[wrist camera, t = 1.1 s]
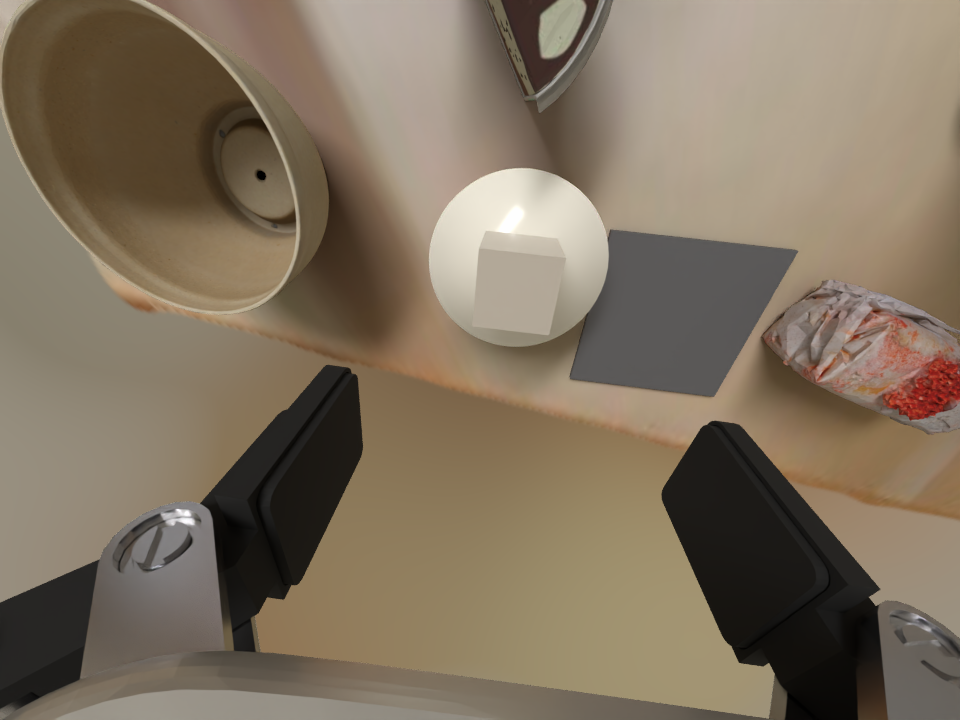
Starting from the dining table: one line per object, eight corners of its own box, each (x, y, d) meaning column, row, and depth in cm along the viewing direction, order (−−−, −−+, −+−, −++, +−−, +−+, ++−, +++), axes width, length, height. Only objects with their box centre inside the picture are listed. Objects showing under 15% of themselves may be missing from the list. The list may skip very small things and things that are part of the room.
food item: (740, 340, 32) (817, 407, 24) (811, 263, 28) (934, 311, 20) (856, 388, 34) (966, 466, 26) (940, 321, 30) (1104, 388, 21)
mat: (794, 249, 28) (798, 251, 27) (712, 394, 36) (714, 396, 35) (610, 229, 28) (611, 230, 28) (569, 376, 36) (570, 378, 36)
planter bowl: (402, 232, 30) (351, 269, 21) (263, 290, 34) (171, 342, 25) (289, -6, 23) (132, -111, 13) (130, 106, 27) (-72, 84, 18)
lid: (630, 178, 22) (663, 187, 17) (581, 350, 29) (594, 392, 24) (432, 157, 22) (408, 160, 17) (430, 332, 29) (413, 369, 24)
